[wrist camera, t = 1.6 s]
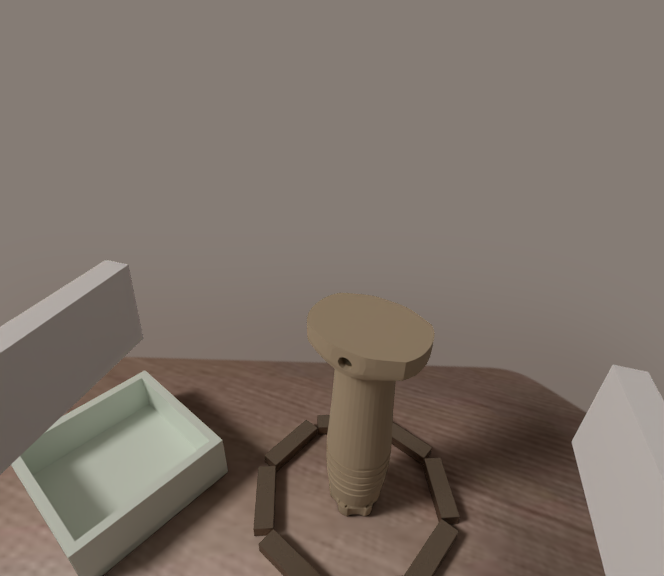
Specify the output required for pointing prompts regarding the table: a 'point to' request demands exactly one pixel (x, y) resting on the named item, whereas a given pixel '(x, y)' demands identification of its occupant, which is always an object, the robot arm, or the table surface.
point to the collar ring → (440, 541)
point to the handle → (364, 386)
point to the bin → (119, 471)
